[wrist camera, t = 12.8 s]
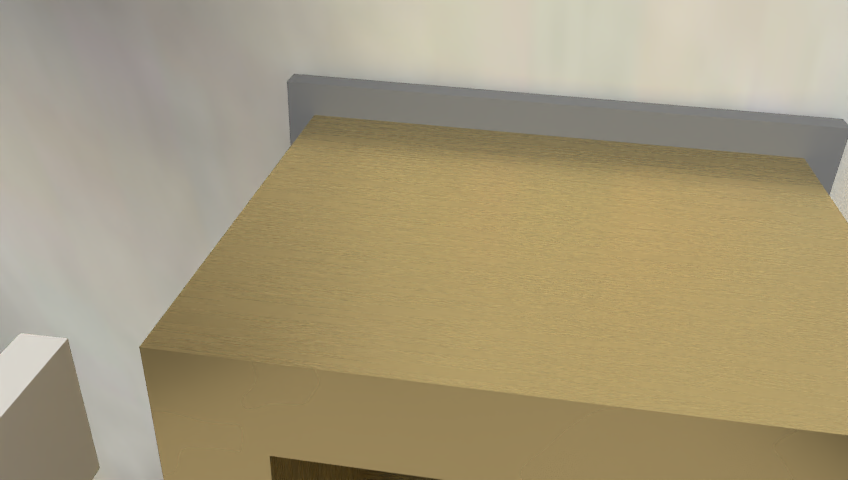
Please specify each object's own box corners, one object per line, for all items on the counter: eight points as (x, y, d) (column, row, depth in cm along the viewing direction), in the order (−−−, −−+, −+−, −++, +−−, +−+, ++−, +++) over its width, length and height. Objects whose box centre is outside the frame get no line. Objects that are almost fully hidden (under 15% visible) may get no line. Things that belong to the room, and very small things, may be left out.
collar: (326, 456, 17) (217, 771, 12) (314, 114, 13) (139, 347, 8) (698, 507, 16) (770, 874, 11) (803, 158, 12) (1004, 455, 7)
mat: (312, 455, 18) (308, 468, 18) (294, 74, 13) (287, 81, 13) (717, 510, 17) (720, 525, 17) (843, 119, 12) (851, 128, 12)
